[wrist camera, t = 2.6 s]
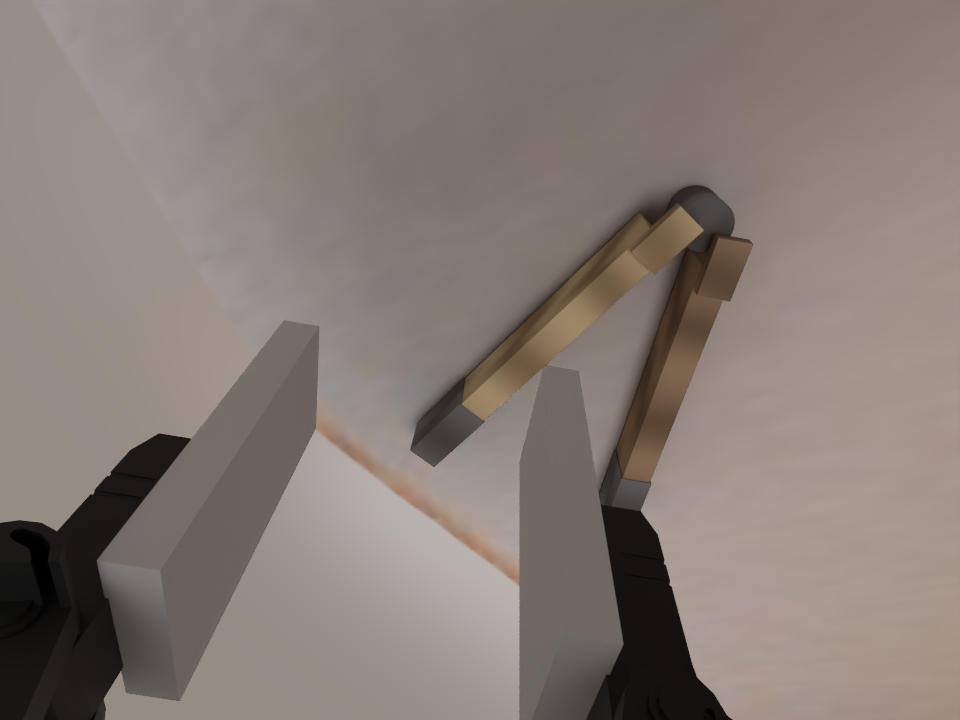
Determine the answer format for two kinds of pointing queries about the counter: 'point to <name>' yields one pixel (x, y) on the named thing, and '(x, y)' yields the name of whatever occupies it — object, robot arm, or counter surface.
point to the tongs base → (676, 345)
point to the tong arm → (553, 328)
